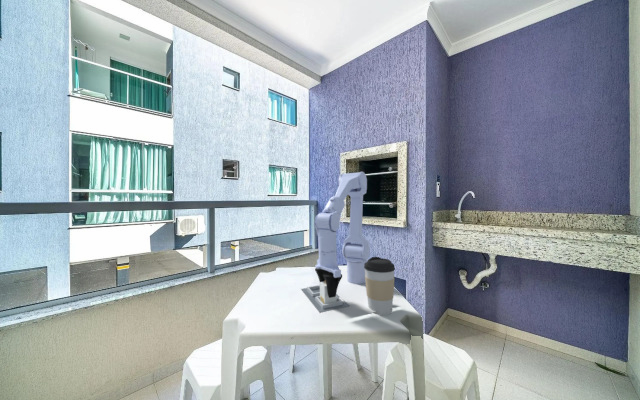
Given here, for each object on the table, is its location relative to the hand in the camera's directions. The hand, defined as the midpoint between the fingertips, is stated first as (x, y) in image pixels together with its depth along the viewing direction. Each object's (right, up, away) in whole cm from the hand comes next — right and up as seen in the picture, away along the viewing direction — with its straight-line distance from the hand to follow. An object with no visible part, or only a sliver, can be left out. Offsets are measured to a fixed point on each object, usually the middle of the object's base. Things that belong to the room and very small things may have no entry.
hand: (328, 293), depth 70 cm
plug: (0, -3, 0) cm, 3 cm away
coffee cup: (+15, -4, -4) cm, 16 cm away
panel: (-2, -4, +4) cm, 6 cm away
